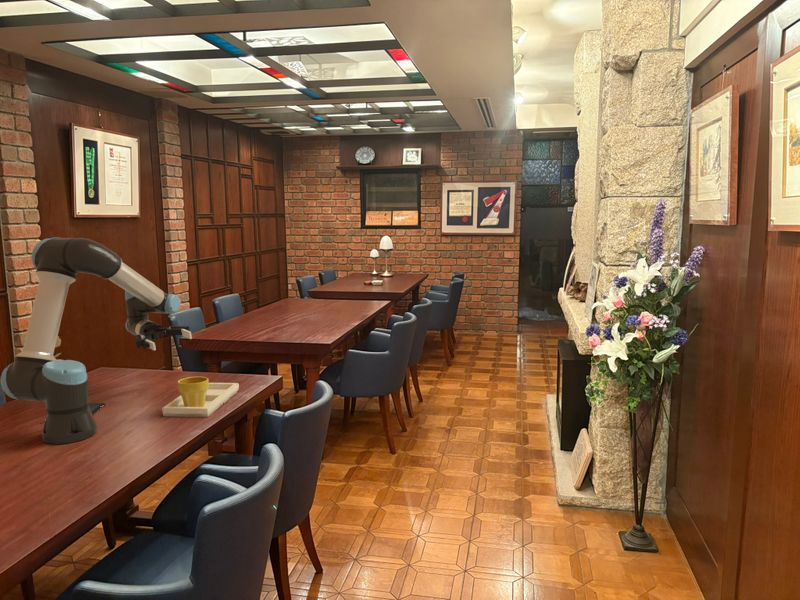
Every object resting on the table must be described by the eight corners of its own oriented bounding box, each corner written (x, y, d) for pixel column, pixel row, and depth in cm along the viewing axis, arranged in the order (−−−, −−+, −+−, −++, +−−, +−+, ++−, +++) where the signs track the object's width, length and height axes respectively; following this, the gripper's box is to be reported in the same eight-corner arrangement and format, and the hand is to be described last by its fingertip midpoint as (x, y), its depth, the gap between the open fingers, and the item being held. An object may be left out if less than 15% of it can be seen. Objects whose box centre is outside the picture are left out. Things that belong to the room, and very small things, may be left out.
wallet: (84, 418, 192) (37, 420, 191) (85, 424, 192) (37, 425, 191) (109, 400, 212) (66, 401, 210) (109, 405, 212) (66, 406, 211)
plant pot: (188, 401, 211) (186, 375, 209) (214, 402, 209) (213, 376, 208) (173, 410, 200) (171, 383, 199) (201, 411, 199) (199, 384, 198)
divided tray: (207, 416, 196) (207, 408, 196) (162, 416, 197) (162, 407, 197) (238, 390, 227) (238, 383, 227) (199, 389, 228) (199, 382, 228)
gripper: (181, 330, 231) (206, 340, 216) (118, 349, 214) (140, 361, 199) (178, 313, 229) (203, 321, 214) (113, 330, 212) (136, 341, 197)
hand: (172, 340), depth 207 cm, fingers open, 13 cm apart
